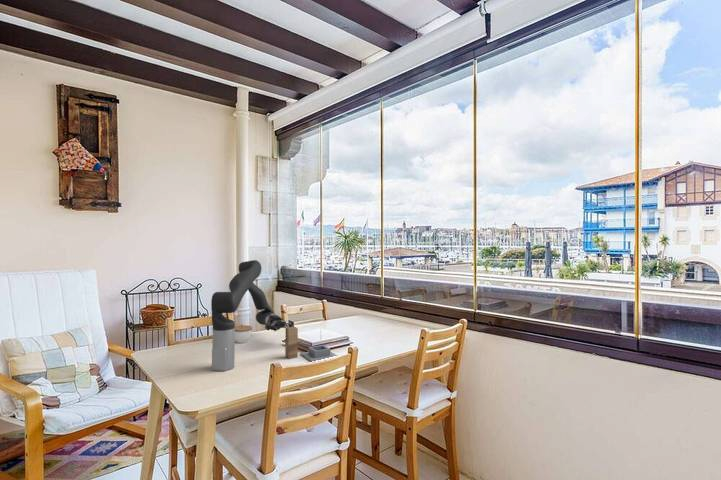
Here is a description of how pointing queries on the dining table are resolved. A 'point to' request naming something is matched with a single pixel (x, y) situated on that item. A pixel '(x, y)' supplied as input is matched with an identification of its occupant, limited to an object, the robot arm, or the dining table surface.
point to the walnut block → (291, 342)
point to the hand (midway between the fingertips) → (284, 328)
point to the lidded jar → (242, 333)
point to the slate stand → (317, 353)
